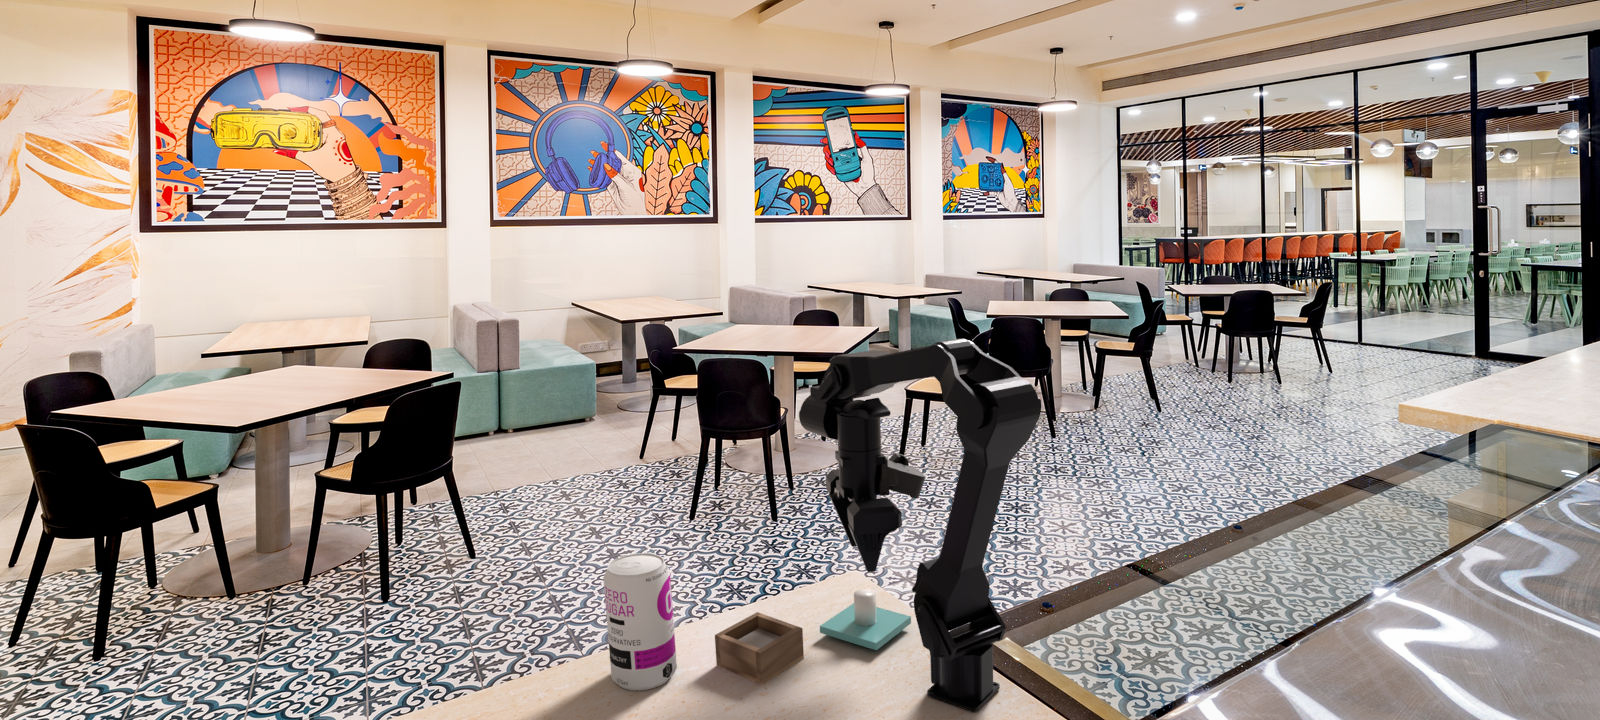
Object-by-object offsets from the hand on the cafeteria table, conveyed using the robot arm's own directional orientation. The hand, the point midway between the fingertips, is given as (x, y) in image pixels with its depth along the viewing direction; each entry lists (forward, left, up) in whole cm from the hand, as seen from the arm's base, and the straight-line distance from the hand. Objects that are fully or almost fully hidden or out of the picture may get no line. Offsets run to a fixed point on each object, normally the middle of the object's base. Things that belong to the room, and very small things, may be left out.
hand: (863, 558), depth 116 cm
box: (+7, +14, -11) cm, 19 cm away
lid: (0, 0, -10) cm, 10 cm away
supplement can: (+17, +25, -11) cm, 32 cm away
